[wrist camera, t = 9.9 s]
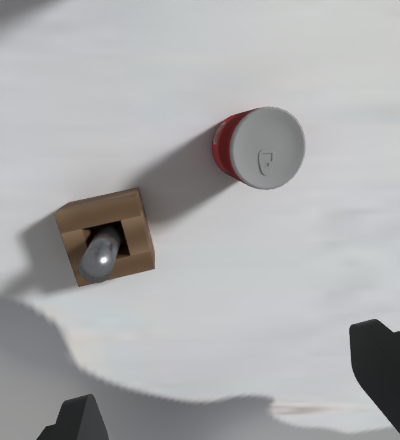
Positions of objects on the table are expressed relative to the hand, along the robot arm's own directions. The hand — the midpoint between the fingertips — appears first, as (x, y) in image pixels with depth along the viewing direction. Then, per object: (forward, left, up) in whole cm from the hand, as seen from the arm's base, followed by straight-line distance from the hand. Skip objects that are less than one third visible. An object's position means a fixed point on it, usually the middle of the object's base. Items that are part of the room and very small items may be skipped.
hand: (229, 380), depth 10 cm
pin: (+3, -9, -32) cm, 33 cm away
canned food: (-4, +10, -33) cm, 35 cm away
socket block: (+3, -9, -33) cm, 34 cm away
